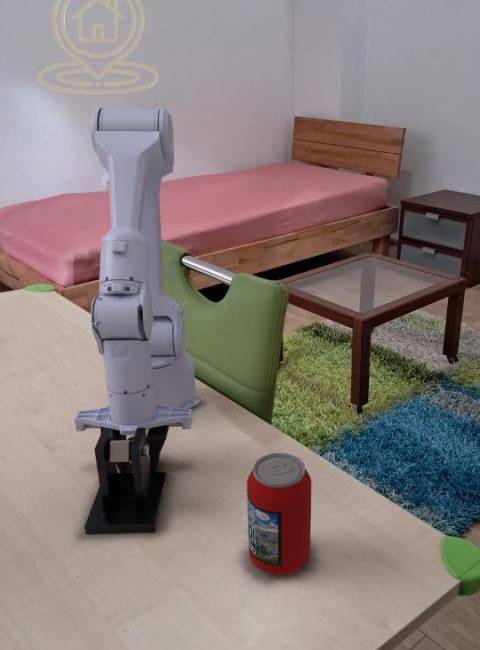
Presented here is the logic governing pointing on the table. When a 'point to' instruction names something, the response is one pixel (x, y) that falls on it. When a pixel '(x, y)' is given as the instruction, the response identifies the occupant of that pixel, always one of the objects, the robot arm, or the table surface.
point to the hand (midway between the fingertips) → (140, 472)
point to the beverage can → (279, 513)
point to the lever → (121, 450)
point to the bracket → (126, 490)
